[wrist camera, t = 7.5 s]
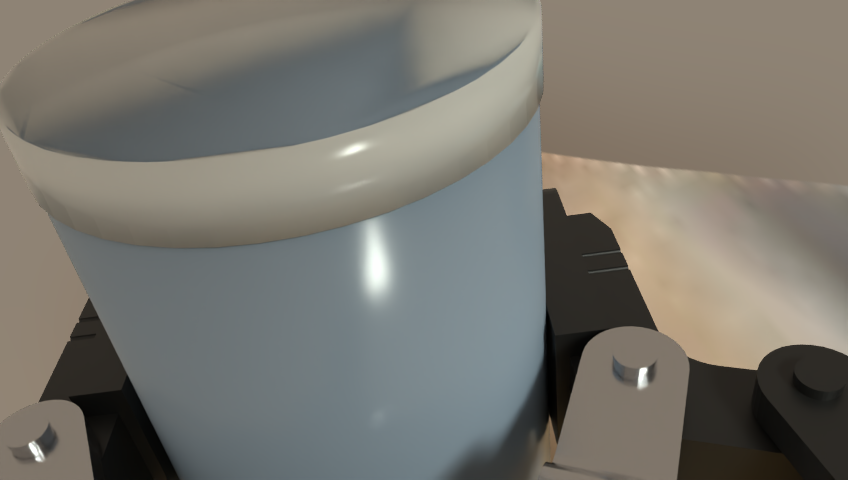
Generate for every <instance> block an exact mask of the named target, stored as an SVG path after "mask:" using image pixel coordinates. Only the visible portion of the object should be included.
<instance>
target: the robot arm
mask: <svg viewBox="0 0 848 480" xmlns="http://www.w3.org/2000/svg"><path fill="white" fill-rule="evenodd" d="M542 192H543V223H544V254H545V285H546V327H547V358H548V388H549V415H550V419H551V423H552V427H553V431H554V435H555V439H556V443H557V448H556V452H555V456H554V459H553V461H552V463H551V462H545V463H544V465H543V467H542V469H541V471H540V474H539V477H538V480H848V356H847V355H845V354H843V353H840V352H838V351H835V350H832V349H829V348H825V347H821V346H814V345H790V346H785V347H782V348H779V349H776V350H774V351H772V352H770V353H769V354H768V355H766V356H765V357H764V358H763V359H762V361H761V362H760V364H759V367H758V370H749V369H740V368H732V367H724V366H717V365H711V364H706V363H703V362H699V361H697V360H694V359H691V358H689V357H687V355H686V354H685V352H684V350H683V349H682V348H681V347H680V345H679V344H677V343H676V342H675V341H674V340H673V339H671V338H670V337H668V336H666V335H664V334H662V333H660V332H659V331H658V330H657V328H656V325H655V323H654V321H653V319H652V317H651V315H650V312H649V310H648V308H647V306H646V304H645V301H644V299H643V297H642V295H641V293H640V291H639V288H638V286H637V284H636V282H635V280H634V278H633V275H632V273H631V271H630V270H628V265H627V262H626V260H625V258H624V256H623V254H622V253H621V251H620V247H619V245H618V243H617V241H616V238H615V236H614V234H613V232H612V230H611V228H609V227H608V226H607V225H606V224H604V223H603V222H602V221H600V220H599V219H598V218H597V217H595V216H594V215H593V214H591V213H585V214H578V215H570V216H567V215H566V213H565V210H564V207H563V205H562V202H561V199H560V197H559V194H558V192H557V190H556V188H551V189H544V190H542ZM70 338H71V341H69V342H67V345H66V346H65V349H64V351H63V353H62V355H61V357H60V359H59V361H58V363H57V365H56V367H55V369H54V371H53V373H52V376H51V377H50V380H49V382H48V384H47V386H46V388H45V390H44V392H43V394H42V396H41V398H40V400H39V402H38V403H35V404H33V405H30V406H27V407H25V408H23V409H21V410H19V411H17V412H16V413H14V414H12V415H11V416H9V417H8V418H6V419H5V420H3V421H2V422H1V423H0V480H179V477H178V475H177V473H176V471H175V469H174V467H173V465H172V463H171V461H170V459H169V457H168V455H167V453H166V451H165V449H164V447H163V445H162V443H161V441H160V439H159V437H158V435H157V433H156V431H155V429H154V427H153V425H152V423H151V421H150V419H149V417H148V415H147V413H146V411H145V409H144V407H143V405H142V403H141V401H140V399H139V397H138V395H137V393H136V391H135V389H134V387H133V385H132V383H131V381H130V379H129V377H128V375H127V373H126V371H125V369H124V367H123V365H122V362H121V360H120V358H119V356H118V354H117V352H116V350H115V348H114V346H113V344H112V342H111V340H110V338H109V336H108V334H107V332H106V330H105V328H104V326H103V324H102V322H101V320H100V318H99V316H98V314H97V312H96V310H95V308H94V306H93V304H92V302H91V300H90V298H89V299H88V301H87V303H86V305H85V307H84V309H83V311H82V313H81V316H80V317H79V323H77V324H76V326H75V328H74V330H73V332H72V334H71V336H70Z"/></svg>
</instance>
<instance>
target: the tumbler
mask: <svg viewBox="0 0 848 480" xmlns="http://www.w3.org/2000/svg"><path fill="white" fill-rule="evenodd" d="M541 8H542V7H541V3H540V0H130V1H128V2H125V3H123V4H120V5H117V6H115V7H112V8H110V9H108V10H105V11H103V12H101V13H99V14H96V15H94V16H92V17H90V18H88V19H86V20H84V21H82V22H80V23H78V24H76V25H74V26H72V27H70V28H68V29H66V30H64V31H63V32H61V33H59V34H57V35H56V36H54V37H52V38H51V39H49V40H47V41H46V42H44V43H43V44H41V45H40V46H39V47H37V48H36V49H34V50H33V51H31V52H30V53H29V54H28V55H27V56H25V57H24V58H23V59H22V60H21V61H19V62H18V63H17V64H16V65H15V66H14V67H13V68H12V69H11V71H10V72H9V73H8V74H7V75H6V76H5V77H4V78H3V80H2V82H1V83H0V131H1V133H2V135H3V137H4V139H5V141H6V143H7V145H8V147H9V149H10V151H11V153H12V155H13V157H14V159H15V161H16V163H17V165H18V167H19V169H20V171H21V173H22V175H23V177H24V179H25V181H26V183H27V185H28V187H29V189H30V191H31V193H32V195H33V196H34V198H35V199H36V201H37V202H38V204H39V206H40V207H41V208H43V209H44V210H45V211H46V212H47V213H48V215H49V217H50V219H51V221H52V223H53V225H54V227H55V229H56V231H57V233H58V235H59V237H60V239H61V241H62V243H63V245H64V247H65V249H66V252H67V254H68V255H69V258H70V259H71V261H72V264H73V266H74V268H75V270H76V272H77V274H78V276H79V278H80V279H81V282H82V283H83V286H84V288H85V290H86V292H87V294H88V296H89V298H90V300H91V302H92V304H93V306H94V308H95V310H96V312H97V314H98V316H99V318H100V320H101V322H102V324H103V326H104V328H105V330H106V332H107V334H108V336H109V338H110V340H111V342H112V344H113V346H114V348H115V350H116V352H117V354H118V356H119V358H120V360H121V362H122V365H123V367H124V369H125V371H126V373H127V375H128V377H129V379H130V381H131V383H132V385H133V387H134V389H135V391H136V393H137V395H138V397H139V399H140V401H141V403H142V405H143V407H144V409H145V411H146V413H147V415H148V417H149V419H150V421H151V423H152V425H153V427H154V429H155V431H156V433H157V435H158V437H159V439H160V441H161V443H162V445H163V447H164V449H165V451H166V453H167V455H168V457H169V459H170V461H171V463H172V465H173V467H174V469H175V471H176V473H177V475H178V477H179V480H538V477H539V474H540V471H541V469H542V467H543V465H544V463H545V462H551V441H550V415H549V388H548V358H547V327H546V285H545V254H544V223H543V192H542V160H541V129H540V101H541V98H542V95H543V44H542V9H541Z"/></svg>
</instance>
